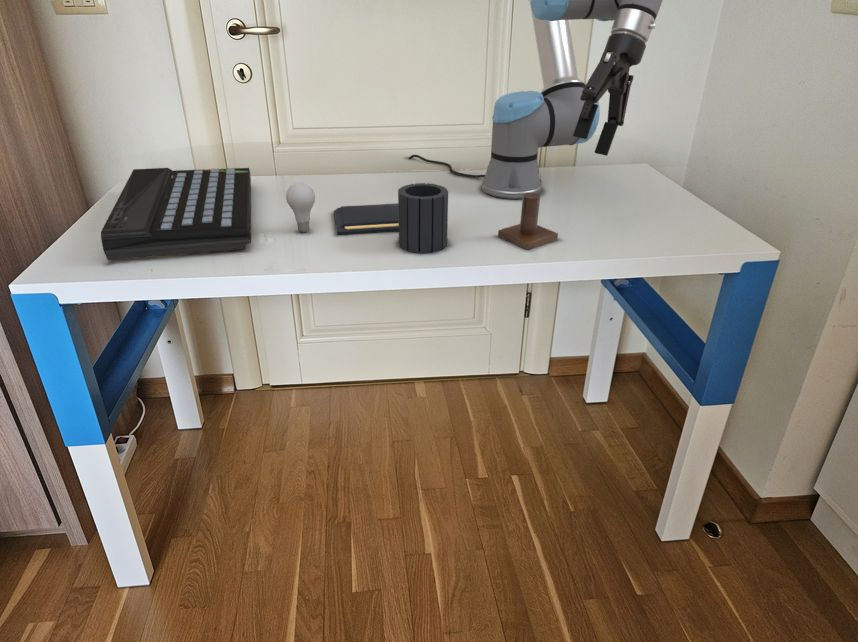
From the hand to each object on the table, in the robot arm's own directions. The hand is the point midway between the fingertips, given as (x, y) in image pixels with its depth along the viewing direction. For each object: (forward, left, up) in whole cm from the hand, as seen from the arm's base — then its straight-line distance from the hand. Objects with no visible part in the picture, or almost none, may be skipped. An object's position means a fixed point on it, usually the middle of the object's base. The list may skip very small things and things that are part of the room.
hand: (590, 146), depth 133 cm
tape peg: (-5, -11, -19) cm, 22 cm away
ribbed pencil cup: (-16, -31, -19) cm, 40 cm away
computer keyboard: (-59, -66, -19) cm, 90 cm away
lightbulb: (-37, -48, -19) cm, 63 cm away
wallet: (-33, -31, -19) cm, 49 cm away
